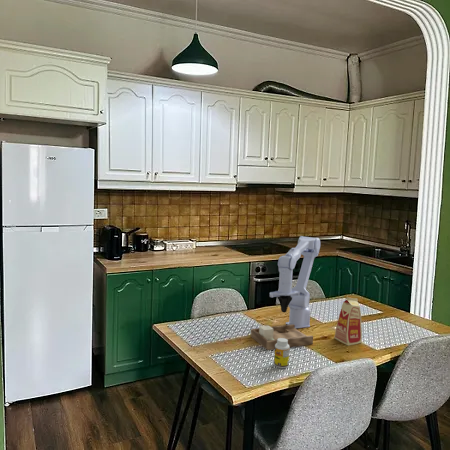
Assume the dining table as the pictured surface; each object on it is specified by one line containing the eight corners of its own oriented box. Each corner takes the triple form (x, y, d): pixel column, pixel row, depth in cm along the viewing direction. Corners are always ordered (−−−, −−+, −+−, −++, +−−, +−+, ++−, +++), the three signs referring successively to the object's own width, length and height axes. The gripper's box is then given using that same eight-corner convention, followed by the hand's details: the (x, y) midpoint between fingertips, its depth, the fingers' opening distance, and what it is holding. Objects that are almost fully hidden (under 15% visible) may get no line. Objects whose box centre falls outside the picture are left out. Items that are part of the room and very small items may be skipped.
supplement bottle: (271, 363, 167) (272, 338, 166) (283, 361, 169) (284, 336, 168) (278, 369, 162) (280, 343, 161) (291, 367, 164) (292, 341, 163)
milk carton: (347, 345, 188) (350, 300, 186) (333, 338, 197) (336, 294, 194) (363, 342, 193) (366, 298, 191) (348, 335, 201) (351, 293, 199)
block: (268, 335, 192) (268, 325, 191) (273, 339, 188) (273, 328, 187) (258, 336, 190) (259, 326, 190) (263, 340, 186) (264, 329, 185)
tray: (293, 331, 203) (293, 324, 203) (312, 344, 189) (313, 336, 188) (250, 336, 195) (250, 329, 195) (267, 350, 180) (267, 342, 180)
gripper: (275, 285, 191) (273, 315, 192) (304, 283, 197) (302, 313, 198) (268, 281, 198) (266, 311, 199) (295, 280, 203) (294, 308, 204)
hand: (283, 311), depth 199 cm, fingers closed
